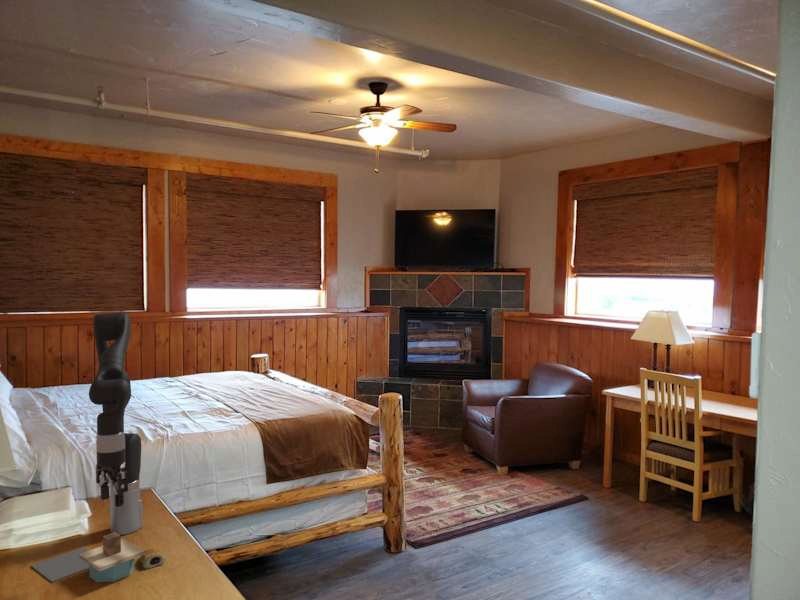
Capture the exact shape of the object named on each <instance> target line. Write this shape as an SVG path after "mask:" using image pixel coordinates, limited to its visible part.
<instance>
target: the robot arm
mask: <svg viewBox="0 0 800 600" xmlns="http://www.w3.org/2000/svg"><path fill="white" fill-rule="evenodd" d="M92 328H93V336H94V341H95V342H94V343H95V347H96V354H97V361H98V362H97V363H98V370H97V371H98V372H97V374H96V376H95V378H94V379H93V381H92V383H91V385H90V387H89V391H88V398H89V400H90V402H91V403H92V404H93V405H96V406H97V405H98V406H101V407H102V412H100V413H99V414H98V415H97V417H96V442H95V444H96V465H95V478H96V479H95V483H96V484H98V486H99V488H100V499H101V501H105V500H107V499H109V503H110V504H109V505H110V506H109V509H110V513H109V514H110V517H109V518H110V528H109V529H110V534H111V533H114V532H116V533H117V534H119V535H121V536H122V535H129V534H133V533H135V532H136V531H138V530H140V528H143V526H144V525H143V519H144V518H143V517H144V516H143V499H141V496H140V495H141V494H140V493H141V491H140V490H141V487H140V483H141V482H140V481H141V480H140V473H141V465H142V464H141V463H142V438H141V436H140V435H139V434H138V433H132V432H131V433H130V432H129V433H127V432H126V433H125V424H124V423H125V421H124V420H125V412H126V411H125V410H126V408H127V406H128V404H129V403H130V400H131V398H132V387H131V378H130V375H129V373H128V372H127V371H126V368H125V360H126V354H127V350H128V347H129V344H130V339H131V335H132V322H131V317H130V315H129V314H128V313H127V312H109V313H108V312H105V313H97V314H95V315H94V317H93V320H92ZM107 342H113V343H112V344H111V345H109V346H108V343H107ZM123 464H124V467H121V466H122V465H123Z"/></svg>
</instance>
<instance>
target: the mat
mask: <svg viewBox="0 0 800 600" xmlns="http://www.w3.org/2000/svg"><path fill="white" fill-rule="evenodd" d="M86 551H89V550H88V549H87V548H85V547H80V548H78V549H75V550H72V551H68V552H65V553H63V554H59V555H57V556H55V557H51V558H48V559H46V560H42V561H39V562H36V563H34V564H31V565H30V567H31V566H32V567H33V568H34V570H35V571H36V570H37V571H38V572H37V571H36V572H37V573H38V574H40V575H41V576H42V577H44V578H45V579H46V580H48V581H49V582H50V583H52V584H53V583H55V582H58V581H61V580H63V579H66V578H69V577H72V576H75V575H77V574H80V573H81V572H85V571H87V570H88V571H89V570H90V567H89V564H88V563H87V562H85V561H84V560H82V559H81V558H79V554H81V553H83V552H86ZM32 567H31V568H32ZM33 568H32V569H33Z"/></svg>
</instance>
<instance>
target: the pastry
mask: <svg viewBox="0 0 800 600" xmlns="http://www.w3.org/2000/svg"><path fill="white" fill-rule="evenodd" d="M144 551H145V554H144V555H141V556H140V559H139V562H140V563H141V564H142V565H141V566H142V567H143V569H144V570H145V569H146V570H147V569H152V568H154V567H158V566H161V565H163V563H165V562H166V561H165V560H166V556H165V555H166V554H164V553H163V551H161V550H158V549H156V548H155V549H154V548H151V549H148V548H147V549H145V550H144Z"/></svg>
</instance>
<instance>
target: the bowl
mask: <svg viewBox="0 0 800 600" xmlns="http://www.w3.org/2000/svg"><path fill="white" fill-rule="evenodd" d="M135 560H136V558H134V559H131V560H128V561H126V562H123V563H120V564H118V565H115V566H113V567H110V568H107V569H105V570H102V571H99V570H97V569H96V568H94V567H93V566H91V565H90V564H89V567H90V569H89V578H90V579H91V580H93V581H95V582H96V583H111V582H113V583H114V582H116V581H119V580H121V579H125V578H126V577H129V576H130V575H131V574H132V572H133V571H134V570H135V568H136V565H135V564H136V562H135Z"/></svg>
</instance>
